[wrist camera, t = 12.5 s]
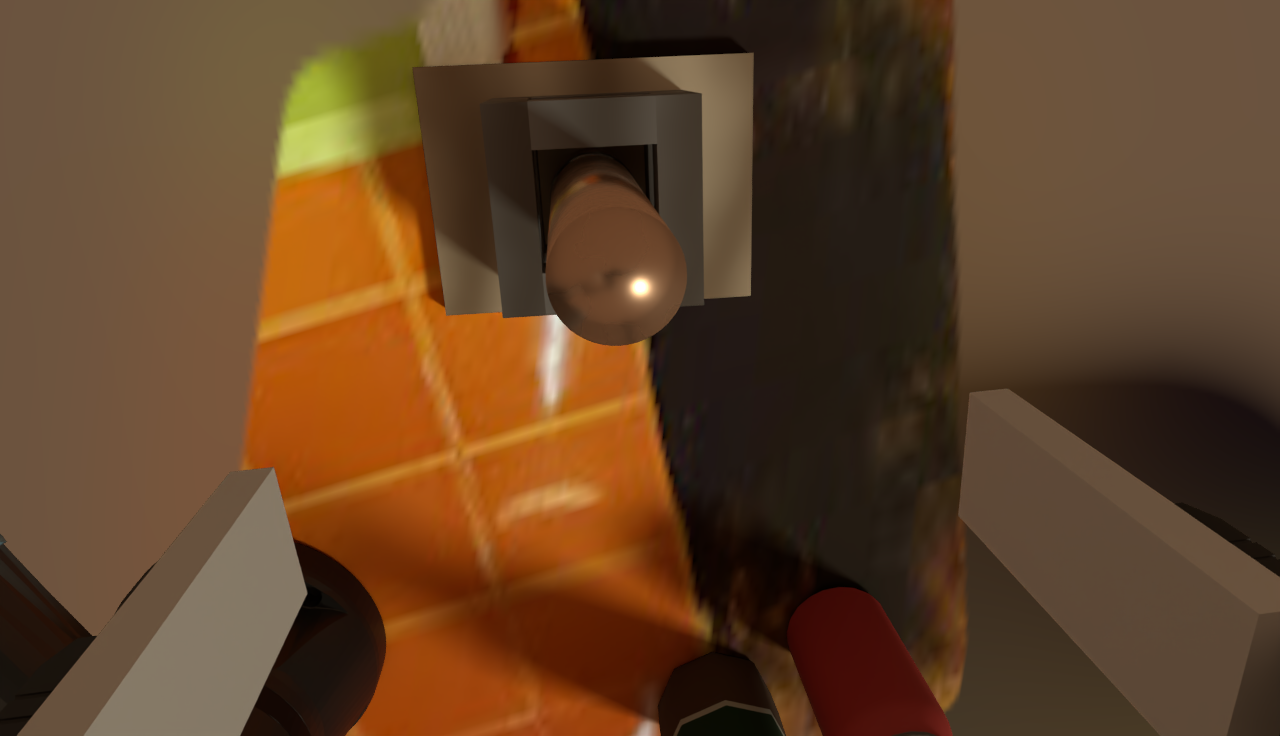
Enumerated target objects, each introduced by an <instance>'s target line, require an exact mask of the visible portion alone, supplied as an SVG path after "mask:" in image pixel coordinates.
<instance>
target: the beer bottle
mask: <svg viewBox="0 0 1280 736" xmlns="http://www.w3.org/2000/svg"><path fill="white" fill-rule="evenodd" d="M658 710H659V725H660V733H661V736H786V734H785V731H784V728H783V725H782V722H781V719H780V716H779V713H778V711H777V708H776V706H775V703H774V701H773V699H772V696H771V694H770V692H769V690H768V688H767V686H766V684H765V683H764V681H763V679H762V677H761V675H760V674H759V672H758V670H757V668H756V666H755V664H754V663H753V662H752V661H750V660H745V659H741V658H736V657H732V656H727V655H723V654H718V653H714V652H711V653H709V654H707V655H704V656H702V657H700V658H698V659H696V660H693V661H691V662H689V663H687V664H684V665H682V666H680V667H678V668H676V669H674V671H673V673H672V675H671V678H670V680H669V682H668V684H667V687H666V689H665V691H664V693H663V696H662V698H661V700H660V702H659V705H658Z"/></svg>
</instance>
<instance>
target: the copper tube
mask: <svg viewBox="0 0 1280 736" xmlns="http://www.w3.org/2000/svg"><path fill="white" fill-rule="evenodd" d="M686 284H687V267H686V261H685V257H684V254H683V251H682V249H681V246H680V245H679V243H678V241H677V239H676V238H675V236H674V235H673V233H672V232H671V231H670V229H669V228H668V226H667V225H666V224H665V222H664V221H663V219H662V218H661V216H660V215H659V214H658V212H657V211H656V209H655V208H654V206H653V205H652V204H651V202H650V201H649V199H648V198H647V197H646V195H645V194H644V192H643V191H642V189H641V188H640V187H639V185H638V184H637V182H636V180H635V178H634V176H633V175H632V173H631V172H630V171H629V169H628V168H627V167H626V166H625V165H624V163H622V162H621V160H620V159H619V158H617V157H616V156H615V155H613V154H612V153H610V152H608V151H606V150H602V149H598V148H585V149H581V150H578V151H575V152H573V153H571V154H570V155H568V156H567V157H566V158H565V159H564V160H563V161H562V162H561V163H560V164H559V166H558V167H557V169H556V171H555V173H554V176H553V180H552V184H551V189H550V216H549V231H548V245H547V260H546V288H547V294H548V297H549V300H550V303H551V305H552V307H553V309H554V311H555V313H556V314H557V316H558V317H559V318H560V320H561V321H562V322H563V323H564V324H565V325H566V326H567V327H568V328H569V329H570V330H571V331H573V332H574V333H576V334H577V335H579V336H580V337H582V338H584V339H586V340H589V341H591V342H594V343H598V344H602V345H610V346H621V345H628V344H633V343H636V342H639V341H642V340H644V339H647V338H649V337H650V336H652V335H654V334H656V333H657V332H658V331H660V330H661V329H662V328H663V327H664V326H665V325H666V324H668V322H669V321H670V320H671V319H672V318H673V316H674V315H675V313H676V312H677V310H678V309H679V307H680V304H681V302H682V300H683V297H684V294H685V290H686Z"/></svg>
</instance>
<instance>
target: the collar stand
mask: <svg viewBox="0 0 1280 736" xmlns="http://www.w3.org/2000/svg"><path fill="white" fill-rule="evenodd" d="M412 68H413V75H414V82H415V90H416V97H417V104H418V112H419V119H420V126H421V133H422V141H423V148H424V155H425V163H426V170H427V177H428V185H429V192H430V199H431V207H432V214H433V221H434V229H435V236H436V243H437V251H438V258H439V265H440V272H441V280H442V287H443V294H444V302H445V309H446V316H447V315H462V314H477V313H493V312H502V314H503V318H511V317H527V316H542V315H557V314H556V313H555V311H554V309H553V307H552V305H551V303H550V300H549V297H548V294H547V288H546V260H547V245H548V231H549V216H550V189H551V184H552V180H553V176H554V173H555V171H556V169H557V167H558V166H559V164H560V163H561V162H562V161H563V160H564V159H565V158H566V157H567V156H568V155H570V154H571V153H573V152H575V151H578V150H581V149H585V148H598V149H602V150H606V151H608V152H610V153H612V154H613V155H615V156H616V157H617V158H619V159H620V160H621V162H622V163H624V165H625V166H626V167H627V168H628V169H629V171H630V172H631V173H632V175H633V176H634V178H635V180H636V182H637V184H638V185H639V187H640V188H641V189H642V191H643V192H644V194H645V195H646V197H647V198H648V199H649V201H650V202H651V204H652V205H653V206H654V208H655V209H656V211H657V212H658V214H659V215H660V216H661V218H662V219H663V221H664V222H665V224H666V225H667V226H668V228H669V229H670V231H671V232H672V233H673V235H674V236H675V238H676V239H677V241H678V243H679V245H680V246H681V249H682V251H683V254H684V257H685V261H686V267H687V284H686V290H685V294H684V297H683V300H682V302H681V304H680V306H695V305H704V299H709V298H724V297H739V296H751V220H752V134H753V53H739V54H715V55H692V56H669V57H645V58H622V59H598V60H575V61H552V62H528V63H505V64H482V65H458V66H435V67H412Z"/></svg>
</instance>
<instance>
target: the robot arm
mask: <svg viewBox="0 0 1280 736" xmlns="http://www.w3.org/2000/svg"><path fill="white" fill-rule="evenodd" d="M959 517H960V518H961V519H962V520H963V521H964V522H965V523H966V524H967V525H968V526H969V528H970V529H971V530H972V531H973V532H974V533H975V534H976V535H977V536H978V537H979V538H980V540H981V541H982V542H983V543H984V544H985V545H986V546H987V547H988V548H989V549H990V550H991V551H992V553H993V554H994V555H995V556H996V557H997V558H998V559H999V560H1000V561H1001V562H1002V563H1003V565H1004V566H1005V567H1006V568H1007V569H1008V570H1009V571H1010V572H1011V573H1012V574H1013V575H1014V576H1015V578H1016V579H1017V580H1018V581H1019V582H1020V583H1021V584H1022V585H1023V586H1024V587H1025V589H1026V590H1027V591H1028V592H1029V593H1030V594H1031V595H1032V596H1033V597H1034V598H1035V599H1036V601H1037V602H1038V603H1039V604H1040V605H1041V606H1042V607H1043V608H1044V609H1045V610H1046V611H1047V613H1049V615H1050V616H1051V617H1052V618H1053V619H1054V620H1055V621H1056V622H1057V623H1058V624H1059V626H1060V627H1061V628H1062V629H1063V630H1064V631H1065V632H1066V633H1067V634H1068V635H1069V636H1070V638H1071V639H1072V640H1073V641H1074V642H1075V643H1076V644H1077V645H1078V646H1079V647H1080V648H1081V650H1083V652H1084V653H1085V654H1086V655H1087V656H1088V657H1089V658H1090V659H1091V660H1092V662H1093V663H1094V664H1095V665H1096V666H1097V667H1098V668H1099V669H1100V670H1101V671H1102V672H1103V674H1104V675H1105V676H1106V677H1107V678H1108V679H1109V680H1110V681H1111V682H1112V683H1113V684H1114V686H1115V687H1116V688H1117V689H1118V690H1119V691H1120V692H1121V693H1122V694H1123V695H1124V696H1125V698H1127V700H1128V701H1129V702H1130V703H1131V704H1132V705H1133V706H1134V707H1135V708H1136V709H1137V711H1138V712H1139V713H1140V714H1141V715H1142V716H1143V717H1144V718H1145V719H1146V720H1147V721H1148V723H1149V724H1150V725H1151V726H1152V727H1153V728H1154V729H1155V730H1156V731H1157V732H1158V733H1159V735H1160V736H1280V559H1279V560H1277V559H1276V557H1275V554H1273V553H1271V552H1270V551H1269V550H1267V549H1266V548H1264V547H1263V546H1261V545H1259V544H1258V543H1257V542H1256V543H1252V542H1251V540H1250V538H1249V537H1248V536H1246V535H1244V534H1243V533H1242V532H1240V531H1239V530H1237V529H1236V528H1234V527H1233V526H1231V525H1229V524H1228V523H1227V522H1225V521H1224V520H1222V519H1220V518H1218V517H1216V516H1213V515H1211V514H1208V513H1206V512H1204V511H1201V510H1199V509H1197V508H1194V507H1192V506H1189V505H1187V504H1184V503H1175V504H1173V503H1172V502H1171V501H1169V500H1168V499H1166V498H1165V497H1163V496H1162V495H1160V494H1159V493H1158V492H1156V491H1155V490H1153V489H1152V488H1150V487H1149V486H1147V485H1146V484H1144V483H1143V482H1142V481H1140V480H1139V479H1137V478H1136V477H1134V476H1133V475H1131V474H1130V473H1129V472H1127V471H1126V470H1124V469H1123V468H1121V467H1120V466H1118V465H1117V464H1116V463H1114V462H1113V461H1111V460H1110V459H1108V458H1107V457H1105V456H1104V455H1103V454H1101V453H1100V452H1098V451H1097V450H1095V449H1094V448H1093V447H1091V446H1090V445H1088V444H1087V443H1085V442H1084V441H1082V440H1081V439H1079V438H1078V437H1077V436H1075V435H1074V434H1072V433H1071V432H1070V431H1068V430H1067V429H1065V428H1064V427H1062V426H1061V425H1059V424H1058V423H1056V422H1055V421H1053V420H1052V419H1051V418H1049V417H1047V416H1046V415H1045V414H1044V413H1042V412H1041V411H1039V410H1038V409H1036V408H1035V407H1033V406H1032V405H1031V404H1029V403H1028V402H1026V401H1025V400H1023V399H1022V398H1020V397H1019V396H1018V395H1016V394H1015V393H1013V392H1012V391H1010V390H1009V389H1000V390H990V391H981V392H972V393H970V396H969V407H968V418H967V429H966V440H965V450H964V461H963V472H962V483H961V494H960V505H959ZM3 543H6V540H5V539H4V537H3V536H2V535H1V534H0V736H345V735H346V734H347V733H348V731H349V730H350V729H351V728H352V727H353V726H354V725H355V724H356V723H357V722H358V720H359V719H360V718H361V717H362V715H363V714H364V712H365V711H366V709H367V707H368V705H369V704H370V702H371V700H372V697H373V695H374V693H375V690H376V687H377V684H378V680H379V677H380V674H381V671H382V667H383V664H384V659H385V653H386V636H385V629H384V625H383V621H382V618H381V615H380V613H379V611H378V608H377V606H376V604H375V603H374V601H373V599H372V598H371V596H370V595H369V593H368V592H367V591H366V589H365V588H364V587H363V585H362V584H361V583H360V582H359V581H358V580H357V579H356V578H355V577H354V576H353V575H352V574H351V573H350V572H348V571H347V570H346V569H345V568H344V567H342V566H341V565H339V564H338V563H337V562H335V561H334V560H332V559H330V558H329V557H327V556H325V555H323V554H322V553H320V552H318V551H315V550H313V549H311V548H309V547H306V546H304V545H301V544H298V543H295V542H294V541H293V537H292V534H291V530H290V526H289V522H288V519H287V515H286V511H285V508H284V504H283V500H282V496H281V493H280V489H279V485H278V481H277V478H276V474H275V470H274V467H272V468H262V469H253V470H243V471H234V472H230V473H229V474H228V475H227V476H226V478H225V479H224V480H223V481H222V483H221V484H220V485H219V486H218V488H217V489H216V490H215V491H214V493H213V494H212V495H211V496H210V497H209V499H208V500H207V501H206V503H205V504H204V505H203V506H202V507H201V509H200V510H199V511H198V512H197V514H196V515H195V516H194V517H193V518H192V520H191V521H190V522H189V523H188V525H187V526H186V527H185V528H184V530H183V531H182V532H181V533H180V535H179V536H178V537H177V538H176V540H175V541H174V542H173V543H172V544H171V546H170V547H169V548H168V549H167V551H166V552H165V553H164V554H163V556H162V557H161V558H160V559H159V560H158V562H156V563H155V564H154V565H153V566H152V567H151V568H150V569H149V570H148V571H147V572H146V573H145V574H144V575H143V576H142V578H141V579H140V580H139V581H138V582H137V584H136V585H135V586H134V587H133V588H132V590H131V591H130V592H129V593H128V594H127V596H126V597H125V598H124V600H123V601H122V602H121V604H120V606H119V607H118V609H117V611H116V613H115V615H114V616H113V617H112V619H111V620H110V621H109V622H108V624H107V625H106V626H105V627H104V629H103V630H102V631H101V632H100V633H99V635H98V636H92V635H91V634H90V633H89V632H88V631H87V630H86V629H85V628H84V627H83V626H82V625H81V624H80V623H79V622H78V621H77V620H76V619H75V618H74V617H73V616H72V615H71V614H70V613H69V612H68V611H67V610H66V609H65V608H64V607H63V606H62V605H61V604H60V603H59V602H58V601H57V600H56V599H55V598H54V597H53V596H52V595H51V594H50V593H49V592H48V591H47V590H46V589H45V588H44V587H43V586H42V585H41V584H40V583H39V581H38V580H37V579H36V578H35V577H34V576H33V575H32V574H31V573H30V572H29V571H28V570H27V569H26V568H25V567H24V566H23V564H22V563H21V562H20V561H19V560H17V558H16V557H15V556H14V555H13V554H12V553H11V552H10V551H9V550H8V549H7V547H6V546H5V545H4V544H3Z"/></svg>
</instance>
